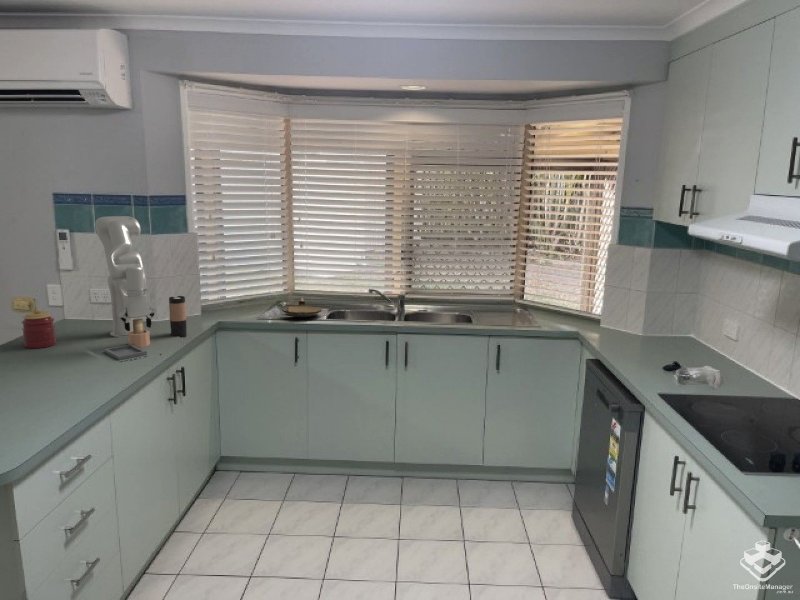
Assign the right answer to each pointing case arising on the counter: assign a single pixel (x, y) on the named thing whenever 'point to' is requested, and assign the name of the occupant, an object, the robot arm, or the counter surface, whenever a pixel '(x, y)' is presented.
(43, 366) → the counter surface
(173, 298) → the travel mug
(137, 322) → the peg
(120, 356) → the tray
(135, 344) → the cup
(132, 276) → the robot arm
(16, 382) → the counter surface
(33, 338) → the canister
